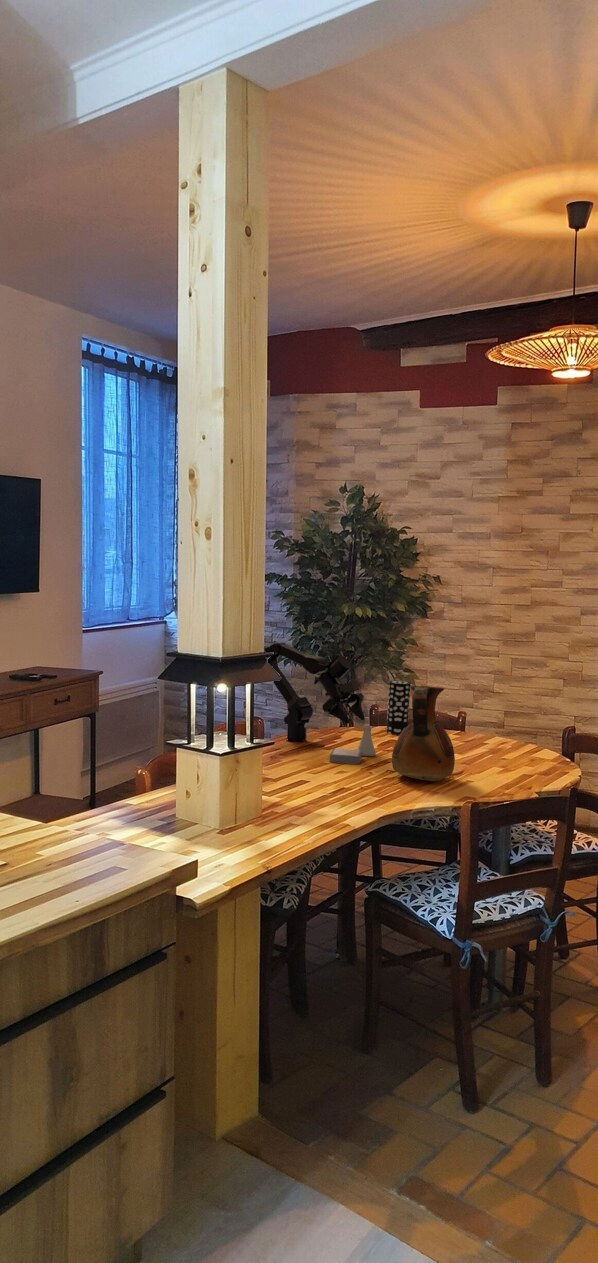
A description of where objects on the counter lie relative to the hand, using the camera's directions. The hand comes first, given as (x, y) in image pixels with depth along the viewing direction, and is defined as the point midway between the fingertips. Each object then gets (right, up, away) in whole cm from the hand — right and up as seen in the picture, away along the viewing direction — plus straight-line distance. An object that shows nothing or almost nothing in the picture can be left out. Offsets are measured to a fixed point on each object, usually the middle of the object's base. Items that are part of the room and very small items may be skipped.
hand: (356, 721), depth 325 cm
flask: (+3, -12, -2) cm, 12 cm away
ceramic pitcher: (+19, -15, -32) cm, 40 cm away
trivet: (-4, -12, -11) cm, 17 cm away
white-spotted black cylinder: (+18, -8, +39) cm, 44 cm away
